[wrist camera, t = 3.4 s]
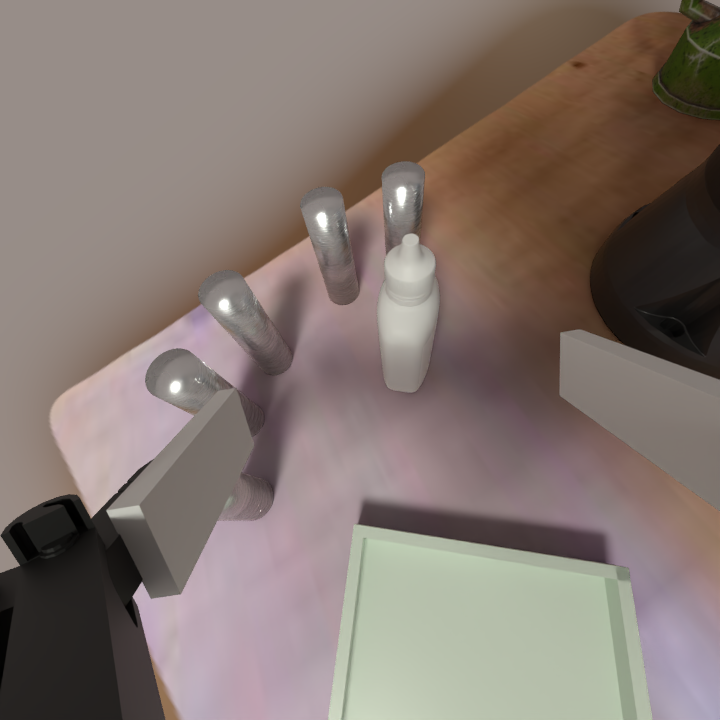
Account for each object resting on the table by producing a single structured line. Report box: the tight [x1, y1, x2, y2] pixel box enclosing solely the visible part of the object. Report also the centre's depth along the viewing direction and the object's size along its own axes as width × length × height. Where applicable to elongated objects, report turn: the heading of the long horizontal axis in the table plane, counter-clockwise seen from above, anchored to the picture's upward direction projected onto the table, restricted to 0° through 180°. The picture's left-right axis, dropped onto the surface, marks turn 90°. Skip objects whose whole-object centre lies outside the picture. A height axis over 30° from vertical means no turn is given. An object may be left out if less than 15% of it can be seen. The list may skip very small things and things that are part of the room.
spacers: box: [145, 162, 425, 521], centre depth 22 cm, size 7×23×9 cm, turn 149°
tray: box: [328, 524, 652, 720], centre depth 17 cm, size 14×11×2 cm
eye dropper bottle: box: [377, 234, 440, 393], centre depth 20 cm, size 4×6×12 cm
